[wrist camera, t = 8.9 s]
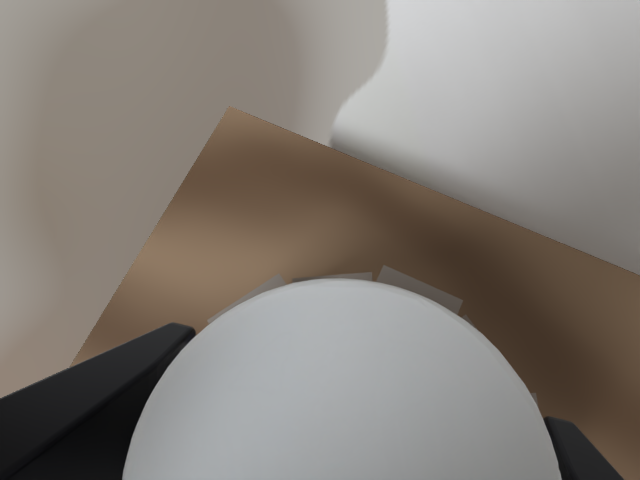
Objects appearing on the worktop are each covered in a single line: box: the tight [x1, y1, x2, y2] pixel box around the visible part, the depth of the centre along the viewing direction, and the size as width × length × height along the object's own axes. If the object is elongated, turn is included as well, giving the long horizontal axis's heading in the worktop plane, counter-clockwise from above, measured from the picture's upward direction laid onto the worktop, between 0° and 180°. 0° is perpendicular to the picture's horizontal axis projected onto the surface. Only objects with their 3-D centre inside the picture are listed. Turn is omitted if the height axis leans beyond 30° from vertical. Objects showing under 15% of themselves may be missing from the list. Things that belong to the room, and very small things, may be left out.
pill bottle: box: [122, 278, 562, 480], centre depth 10 cm, size 6×6×10 cm
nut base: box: [69, 106, 640, 480], centre depth 18 cm, size 20×20×4 cm
